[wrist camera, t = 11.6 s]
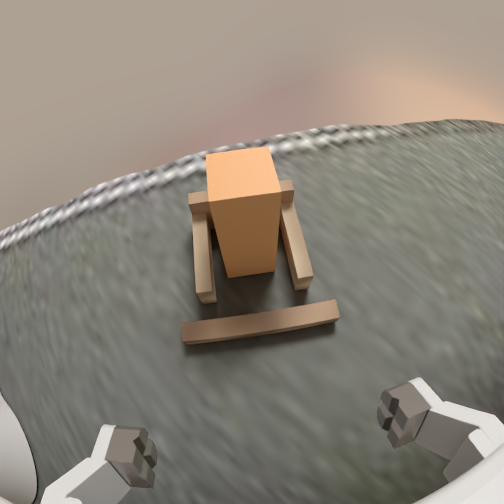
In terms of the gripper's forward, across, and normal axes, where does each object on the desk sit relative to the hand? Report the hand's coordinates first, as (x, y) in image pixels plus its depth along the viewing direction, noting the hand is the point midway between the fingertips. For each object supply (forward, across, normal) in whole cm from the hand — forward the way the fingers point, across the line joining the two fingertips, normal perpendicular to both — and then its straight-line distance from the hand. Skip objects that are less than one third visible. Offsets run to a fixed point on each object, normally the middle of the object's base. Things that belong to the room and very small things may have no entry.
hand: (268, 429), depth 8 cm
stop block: (+18, -1, -1) cm, 18 cm away
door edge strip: (+13, -1, +4) cm, 14 cm away
